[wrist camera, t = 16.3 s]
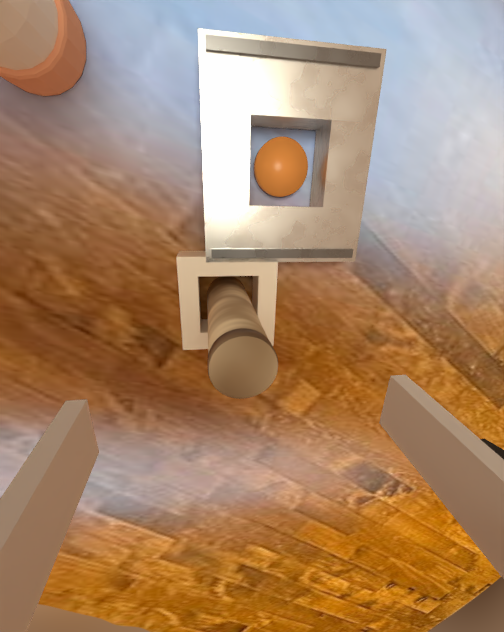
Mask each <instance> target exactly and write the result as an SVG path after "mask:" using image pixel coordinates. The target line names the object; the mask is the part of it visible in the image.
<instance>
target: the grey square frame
mask: <svg viewBox="0 0 504 632" xmlns="http://www.w3.org/2000/svg"><path fill="white" fill-rule="evenodd" d="M198 47H199V76H200V105H201V133H202V162H203V191H204V220H205V249H206V262H219V261H220V260H223V261H224V259H223V258H229V259H230V258H236V260H237V261H238V259H237V258H239V259H241V258H246V259H247V258H250V259H247V260H251V258H253V259H254V258H264V259H265V258H266V260H267V259H269V261H268V260H267V261H266V260H264V259H262V262H263V260H264V261H265V262H355V258H356V251H357V245H358V238H359V231H360V224H361V218H362V211H363V204H364V197H365V191H366V184H367V177H368V170H369V164H370V157H371V150H372V143H373V137H374V130H375V123H376V116H377V110H378V103H379V96H380V89H381V83H382V76H383V69H384V62H385V56H386V49H380V48H371V47H362V46H353V45H344V44H335V43H325V42H316V41H307V40H298V39H289V38H280V37H271V36H262V35H253V34H244V33H235V32H226V31H217V30H208V29H199V28H198ZM251 126H256V127H272V128H288V129H303V130H316V138H315V150H314V161H313V173H312V184H311V196H310V207H286V206H249V186H250V128H251ZM207 257H208V258H207ZM211 257H212V258H211ZM215 258H216V260H215ZM217 258H218V259H220V258H221V259H220V260H219V261H217ZM270 258H271V259H270ZM213 259H214V260H213ZM225 260H226V259H225ZM231 260H232V259H230V261H231ZM241 260H242V259H241ZM271 260H272V261H271ZM254 261H255V259H254ZM220 262H221V261H220ZM227 262H228V259H227ZM232 262H234V261H232ZM241 262H242V261H241ZM245 262H246V261H245ZM250 262H251V261H250ZM257 262H258V261H257ZM259 262H260V260H259Z"/></svg>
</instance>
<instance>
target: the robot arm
mask: <svg viewBox="0 0 504 632" xmlns="http://www.w3.org/2000/svg"><path fill="white" fill-rule="evenodd" d="M380 424H381V426H382V427H383V428H384V429H385V431H386V432H387V433H388V434H389V436H390V437H391V438H392V439H393V441H394V442H395V443H396V444H397V446H398V447H399V448H400V449H401V451H402V452H403V453H404V454H405V456H406V457H407V458H408V459H409V461H410V462H411V463H412V464H413V466H414V467H415V468H416V469H417V471H418V472H419V473H420V475H421V476H422V477H423V478H424V480H425V481H426V482H427V483H428V485H429V486H430V487H431V488H432V490H433V491H434V492H435V493H436V495H437V496H438V497H439V498H440V500H441V501H442V502H443V503H444V505H445V506H446V507H447V508H448V510H449V511H450V512H451V513H452V515H453V516H454V517H455V518H456V520H457V521H458V522H459V524H460V525H461V526H462V527H463V529H464V530H465V531H466V532H467V534H468V535H469V536H470V537H471V539H472V540H473V541H474V542H475V544H476V545H477V546H478V547H479V549H480V550H481V551H482V552H483V554H484V555H485V556H486V557H487V559H488V560H489V561H490V562H491V564H492V565H493V566H494V568H495V569H496V570H497V571H498V573H499V574H500V575H501V576H502V577H503V579H504V450H503V449H501V448H500V447H498V446H496V445H494V444H493V443H491V442H489V441H487V440H486V439H479V438H478V437H477V436H476V435H475V434H473V433H472V432H471V431H470V430H469V429H468V428H466V427H465V426H464V425H463V424H462V423H461V422H459V421H458V420H457V419H456V418H455V417H454V416H453V415H451V414H450V413H449V412H448V411H447V410H446V409H444V408H443V407H442V406H441V405H440V404H439V403H437V402H436V401H435V400H434V399H433V398H432V397H430V396H429V395H428V394H427V393H426V392H425V391H424V390H422V389H421V388H420V387H419V386H418V385H417V384H415V383H414V382H413V381H412V380H411V379H410V378H408V377H407V376H406V375H397V376H390V380H389V384H388V389H387V393H386V397H385V401H384V406H383V410H382V414H381V418H380ZM98 453H99V450H98V446H97V441H96V437H95V432H94V428H93V424H92V419H91V415H90V410H89V406H88V402H87V399H84V400H71V401H65V403H64V404H63V406H62V407H61V409H60V410H59V412H58V413H57V415H56V416H55V418H54V419H53V421H52V422H51V424H50V425H49V427H48V428H47V430H46V431H45V433H44V434H43V436H42V437H41V439H40V440H39V442H38V443H37V445H36V446H35V448H34V449H33V451H32V452H31V454H30V455H29V457H28V458H27V460H26V461H25V463H24V464H23V466H22V467H21V469H20V470H19V472H18V473H17V475H16V476H15V478H14V479H13V481H12V482H11V484H10V485H9V487H8V488H7V490H6V491H5V493H4V494H3V496H2V497H1V498H0V632H27V629H28V627H29V624H30V622H31V619H32V617H33V614H34V612H35V609H36V607H37V604H38V602H39V599H40V597H41V595H42V592H43V590H44V587H45V585H46V582H47V580H48V577H49V575H50V572H51V570H52V567H53V565H54V562H55V560H56V557H57V555H58V552H59V550H60V547H61V545H62V542H63V540H64V538H65V535H66V533H67V530H68V528H69V525H70V523H71V520H72V518H73V515H74V513H75V510H76V508H77V505H78V503H79V500H80V498H81V495H82V493H83V490H84V488H85V485H86V483H87V481H88V478H89V476H90V473H91V471H92V468H93V466H94V463H95V461H96V458H97V456H98Z"/></svg>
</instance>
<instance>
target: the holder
mask: <svg viewBox="0 0 504 632" xmlns="http://www.w3.org/2000/svg"><path fill="white" fill-rule="evenodd" d="M176 258H177V272H178V287H179V301H180V315H181V329H182V343H183V350H195V349H208V319H201V308H200V286H199V277H201V276H253V288H252V305H253V308H254V310H255V312H256V314H257V316H258V318H259V320H260V322H261V325H262V327H263V329H264V331H265V333H266V335H267V337H268V339H269V341H270V342H271V344H272V346H274V328H275V309H276V291H277V272H278V262H265V261H264V260H266V258H265V259H264V258H254V259H255V261H254V259H253V258H251V260H247V259H250V258H247V259H246V258H241V259H242V260H241V259H239V258H237V259H238V261H237V260H236V258H230V259H232V260H231V261H230V259H229V258H223V259H224V261H223V260H220V259H221V258H220V259H218V258H217V261H219V260H220V261H221V262H220V261H219V262H206V251H179V253H178V255H177V257H176ZM207 258H208V257H207ZM211 258H212V257H211ZM225 259H226V260H225ZM227 259H228V262H227ZM262 259H264V260H263V262H262ZM270 259H271V258H270ZM213 260H214V259H213ZM215 260H216V258H215ZM259 260H260V262H259ZM267 260H268V261H269V259H267ZM267 260H266V261H267ZM232 261H234V262H232ZM241 261H242V262H241ZM245 261H246V262H245ZM250 261H251V262H250ZM257 261H258V262H257ZM271 261H272V260H271Z"/></svg>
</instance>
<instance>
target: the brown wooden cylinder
mask: <svg viewBox="0 0 504 632" xmlns="http://www.w3.org/2000/svg"><path fill="white" fill-rule="evenodd" d="M207 310H208V374H209V378H210V380H211V382H212V384H213V385H214V387H215V388H216V389H217V390H218V391H219V392H221V393H222V394H224V395H226V396H229V397H232V398H239V399H240V398H249V397H253V396H256V395H258V394H260V393H262V392H263V391H265V390H266V389H267V388H268V387H269V386H270V385H271V384H272V383H273V381H274V379H275V377H276V375H277V371H278V359H277V355H276V353H275V350H274V348H273V346H272V344H271V342H270V341H269V339H268V337H267V335H266V333H265V331H264V329H263V327H262V325H261V322H260V320H259V318H258V316H257V314H256V312H255V310H254V308H253V305H252V303H251V301H250V299H249V297H248V295H247V293H246V290H245V288H244V286H243V284H242V283H241V282H240V281H239V280H238V279H236V278H234V277H232V276H221V277H218V278H216V279H215V280H214V281H213V282H212V283H211V284H210V286H209V288H208V291H207Z"/></svg>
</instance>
